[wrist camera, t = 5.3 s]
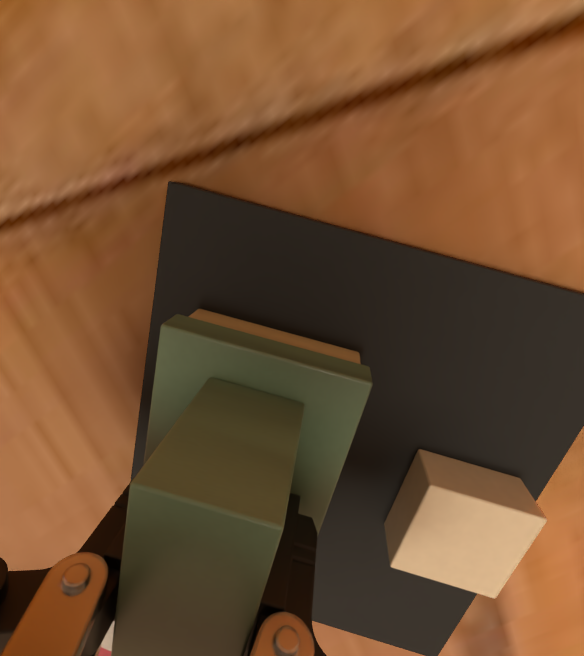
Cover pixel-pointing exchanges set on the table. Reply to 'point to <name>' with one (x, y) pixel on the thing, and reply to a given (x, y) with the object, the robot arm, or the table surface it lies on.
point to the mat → (385, 377)
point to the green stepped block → (227, 477)
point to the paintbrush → (107, 642)
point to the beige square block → (461, 524)
